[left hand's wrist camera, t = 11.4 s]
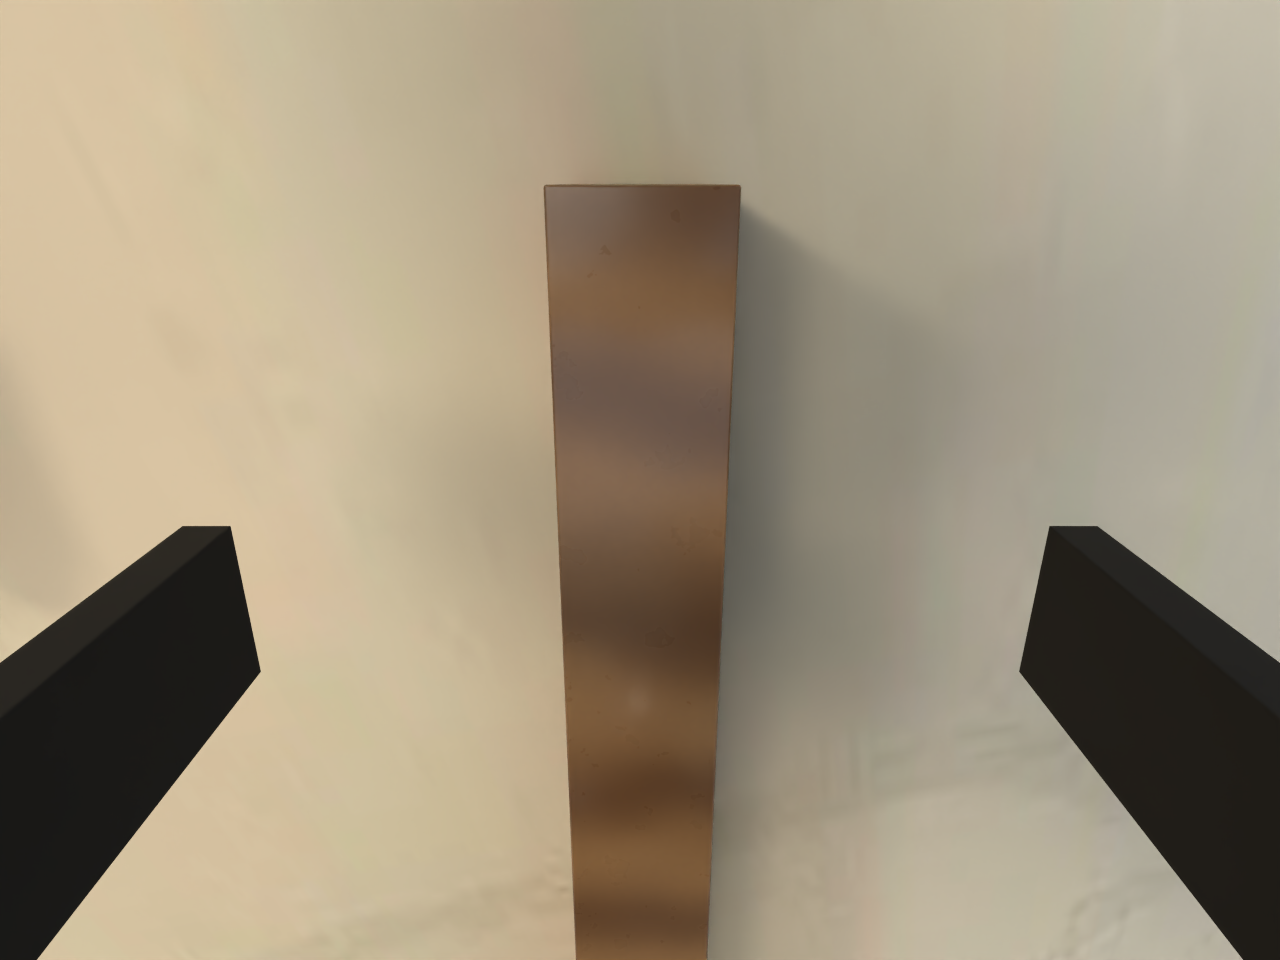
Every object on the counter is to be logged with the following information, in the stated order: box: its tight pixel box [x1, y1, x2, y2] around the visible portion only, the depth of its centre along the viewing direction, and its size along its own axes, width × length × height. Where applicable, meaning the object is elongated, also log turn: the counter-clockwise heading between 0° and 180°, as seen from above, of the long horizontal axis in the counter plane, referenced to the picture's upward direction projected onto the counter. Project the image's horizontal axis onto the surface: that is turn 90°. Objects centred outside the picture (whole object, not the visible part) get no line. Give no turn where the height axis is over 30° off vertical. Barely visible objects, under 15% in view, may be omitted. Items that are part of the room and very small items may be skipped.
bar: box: [544, 184, 741, 960], centre depth 35 cm, size 54×6×9 cm, turn 0°
